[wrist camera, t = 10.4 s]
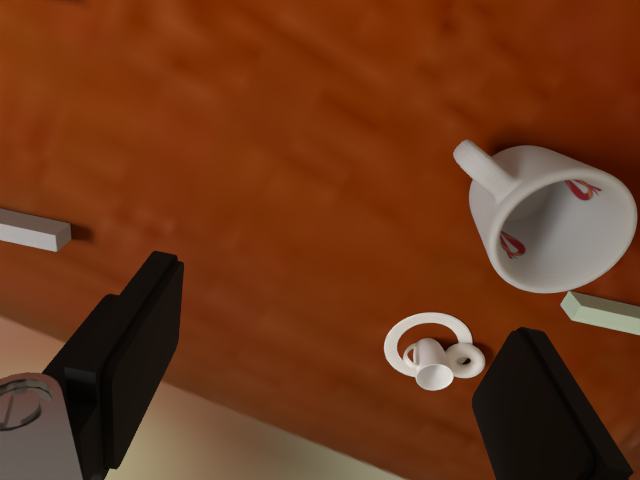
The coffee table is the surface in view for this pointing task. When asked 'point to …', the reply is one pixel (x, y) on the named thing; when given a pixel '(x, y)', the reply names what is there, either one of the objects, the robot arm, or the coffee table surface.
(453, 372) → the white curved piece
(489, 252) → the cup
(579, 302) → the mint green u-frame
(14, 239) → the grey u-frame
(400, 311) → the coffee table surface
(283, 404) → the coffee table surface
